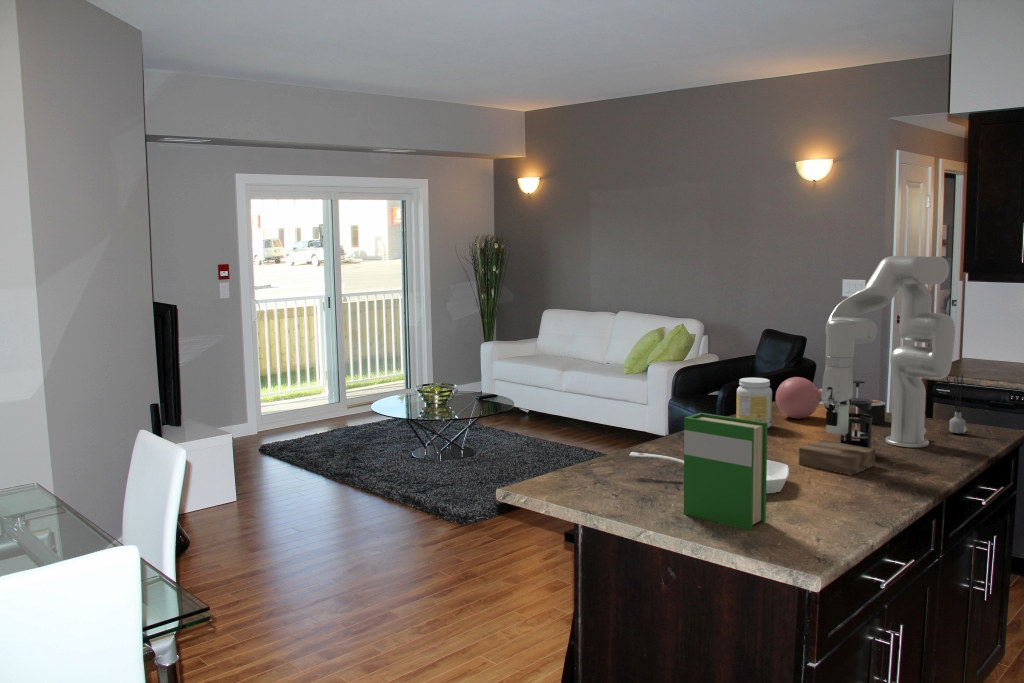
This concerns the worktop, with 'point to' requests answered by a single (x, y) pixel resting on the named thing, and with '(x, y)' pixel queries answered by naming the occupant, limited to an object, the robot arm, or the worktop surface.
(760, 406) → the supplement tub
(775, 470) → the pan
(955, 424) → the reed diffuser
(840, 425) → the white rounded capsule
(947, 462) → the worktop surface
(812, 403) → the balloon
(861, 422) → the french press
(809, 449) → the brown wooden block
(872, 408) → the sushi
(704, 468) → the hardback book
